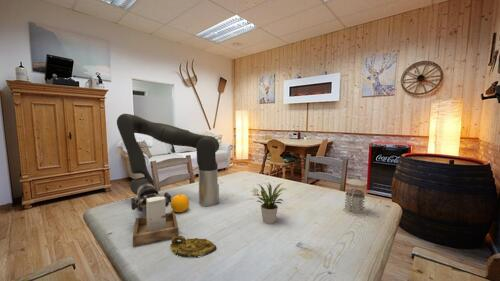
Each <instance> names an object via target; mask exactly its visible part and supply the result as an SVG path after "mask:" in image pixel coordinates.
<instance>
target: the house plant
mask: <svg viewBox="0 0 500 281" xmlns="http://www.w3.org/2000/svg"><path fill="white" fill-rule="evenodd" d="M264 184H265V185H266V186H267V190H268V193H267V191H266V189H265V188H264V187H263V186H262V185H261V184H259V183H258V186H259V187H260V190H258V192H259V193H260V192H261V195H262V196H261V197H258V195H255V198H258V199H260V200H256V202H257V203H261V205H260V210H261V217H262V222H263V223H265V224H268V225H269V224H274V223H275V222H276V219H277V214H278V210H279V209H278V207H279V205H278V204H281V205H283V204H282V202H284V200H283V199H282V198H279V199H278V197H279V196H280V195H282V193H283V191H284V190H286V188H284V187H281V188H280V189H279V187H280V186H281V185H282V184H284V183H283V182H282V183H279V184H277V186H276V187H275V188H274V189H273V188H272V184H271V182H269V181H268V182H267V183H266V182H264ZM256 190H257V189H256ZM272 190H273V191H272ZM281 191H282V193H281ZM281 201H282V202H281Z"/></svg>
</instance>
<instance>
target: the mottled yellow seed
mask: <svg viewBox="0 0 500 281" xmlns="http://www.w3.org/2000/svg"><path fill="white" fill-rule="evenodd" d="M169 245H170V246H169V248H170V251H171V254H173V255H175V256H177V255H178V256H177V257H179V256H181V257H180V258H188V257H196V258H199V257H198V256H202V257H204V256H207V255H209V254H208V253H210V254H212V253H213V252H214V250H215V251H216V249H217V245H216V244H214V243H213V241H211V240H209V239H207V238H199V237H195V238H188V237H187V239H186V238H185V236H183V235H178V236H174V237H173V239H171V243H170V244H169ZM206 254H207V255H206ZM203 255H204V256H203Z"/></svg>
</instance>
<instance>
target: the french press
mask: <svg viewBox="0 0 500 281" xmlns="http://www.w3.org/2000/svg"><path fill="white" fill-rule="evenodd" d="M354 161H355V162H360V159H359V158H355V159H354ZM357 174H358V168H356V172H355V178H350V179H348V180H346V181H345V183H346V184H347V185H350V186H352V187H355V188H352V187H349V188H348V189H347V190H346V193H345V199H344V200H345V202H344V203H345V205H344V208H343V209H342V212H343V211H344V212H345V214H346V215H348V214H349V215H348V216H351V215H352V217H355V216H357V217H356V218H362V216H364V217H365V215H366V216H367V213H366V212H365V209H364V208H365V200H366V197H365V192H364V191H362V189H361V190H360V189H357V187H364V186H366V185H367V184H366V182H364V181H362V180H361V179H358V177H357ZM344 212H343V213H344Z"/></svg>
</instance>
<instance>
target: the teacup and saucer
mask: <svg viewBox="0 0 500 281" xmlns="http://www.w3.org/2000/svg"><path fill="white" fill-rule="evenodd" d="M256 189H257V190H256ZM252 192H253V193H252ZM258 192H259V187H253V188H252V190H250V193H252V195H251V196H250V198H254V197H253V196H261V197H262V195H261V191H260V192H259V193H258Z"/></svg>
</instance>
